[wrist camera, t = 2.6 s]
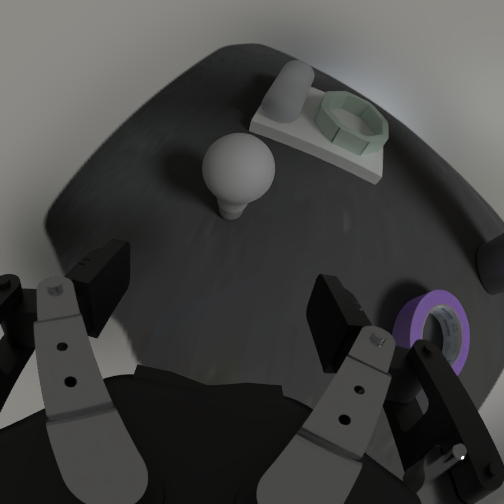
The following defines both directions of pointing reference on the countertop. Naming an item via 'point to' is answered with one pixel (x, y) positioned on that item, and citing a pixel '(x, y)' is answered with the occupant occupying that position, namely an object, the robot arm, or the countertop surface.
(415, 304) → the masking tape
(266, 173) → the lightbulb
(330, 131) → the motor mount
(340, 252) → the countertop surface
